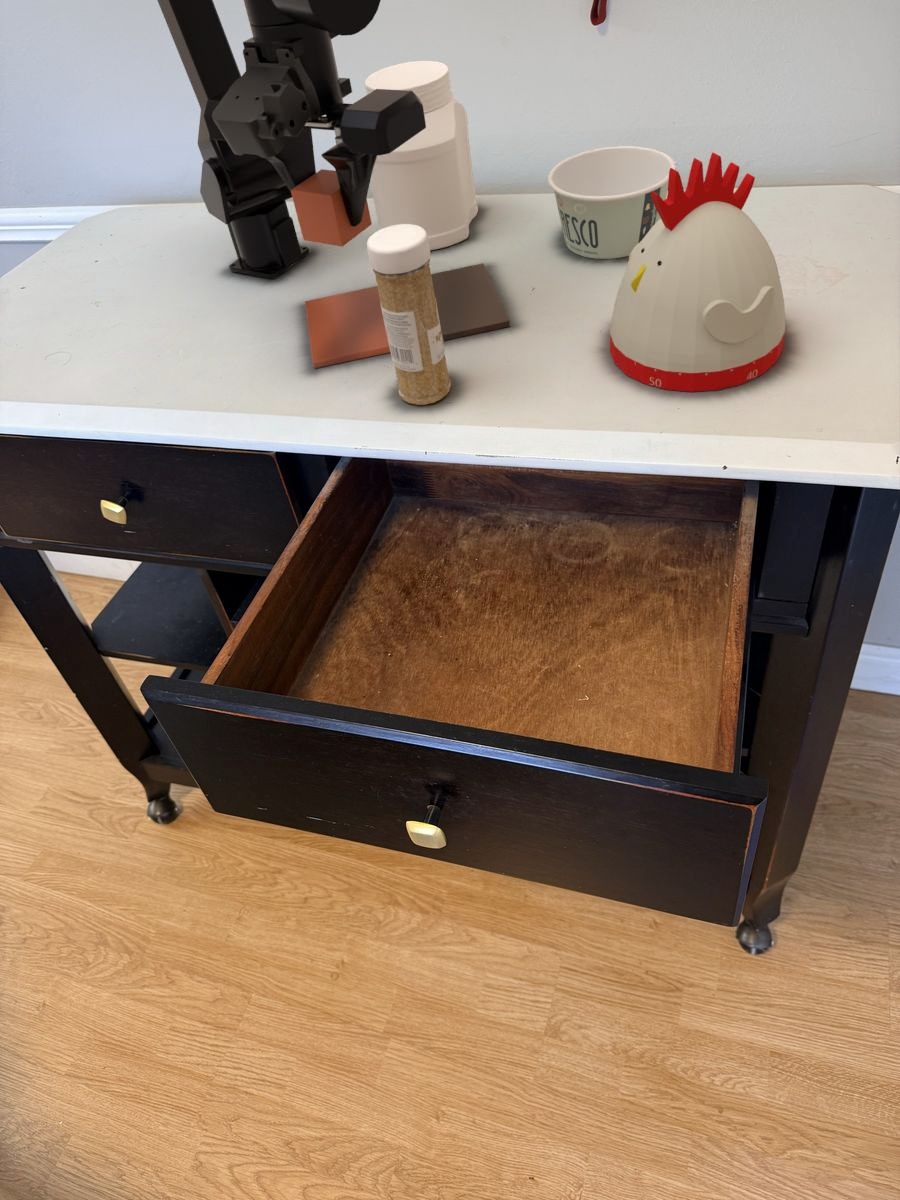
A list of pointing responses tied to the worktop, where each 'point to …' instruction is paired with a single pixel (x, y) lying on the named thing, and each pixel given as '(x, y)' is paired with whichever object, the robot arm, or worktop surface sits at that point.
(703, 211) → the kitchen timer
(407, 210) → the jar
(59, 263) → the worktop surface
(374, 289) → the board
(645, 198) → the food container
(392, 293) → the sprinkles bottle
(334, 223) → the terracotta block
